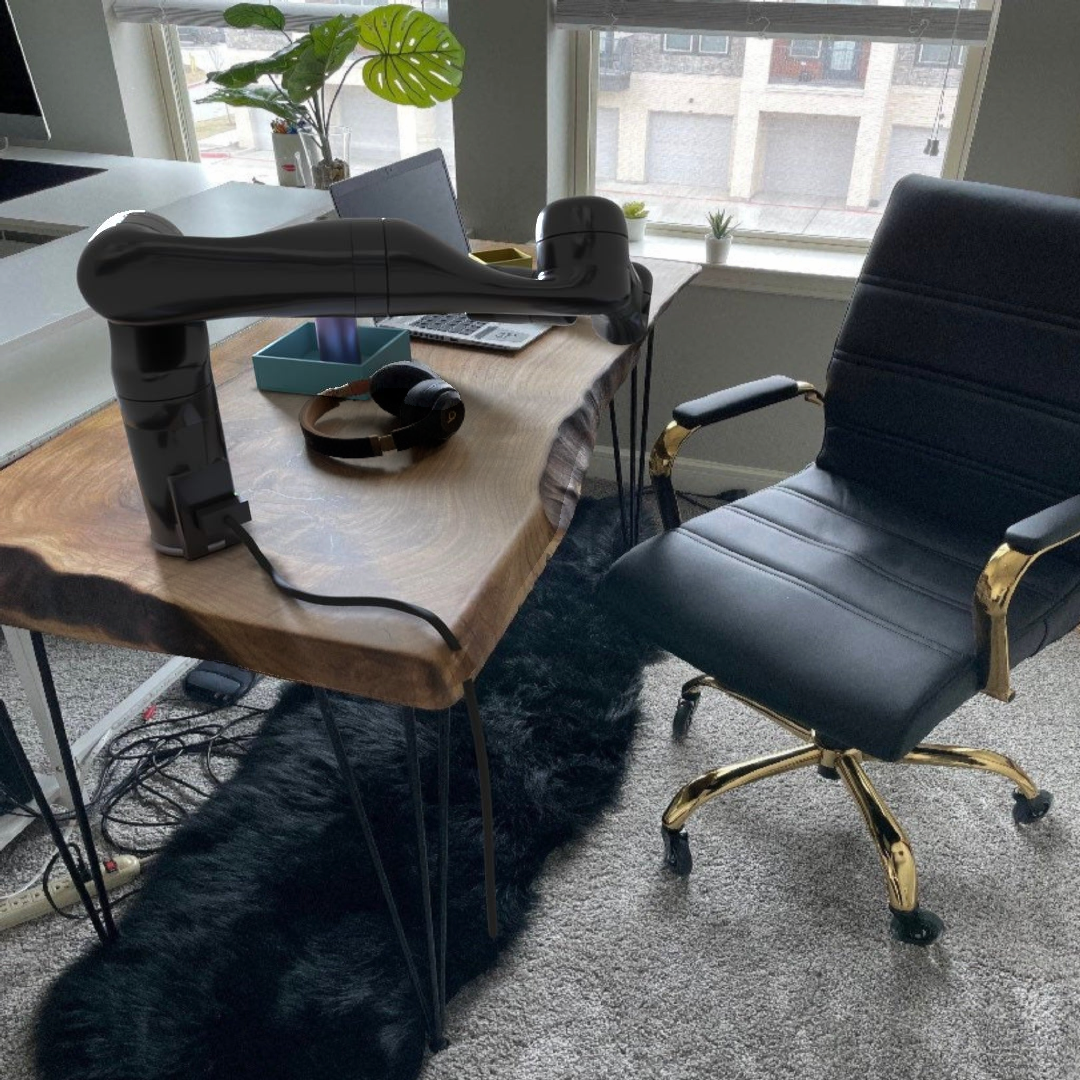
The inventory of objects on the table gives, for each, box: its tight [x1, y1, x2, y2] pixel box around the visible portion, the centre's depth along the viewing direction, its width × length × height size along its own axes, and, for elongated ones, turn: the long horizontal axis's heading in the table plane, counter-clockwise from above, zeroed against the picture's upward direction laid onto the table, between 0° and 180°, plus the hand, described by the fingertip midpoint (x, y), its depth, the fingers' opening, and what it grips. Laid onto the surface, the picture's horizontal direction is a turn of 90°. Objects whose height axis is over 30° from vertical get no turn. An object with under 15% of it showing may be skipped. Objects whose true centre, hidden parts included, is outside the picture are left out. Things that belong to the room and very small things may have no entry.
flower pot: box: [468, 246, 534, 269], centre depth 172 cm, size 9×9×9 cm
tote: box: [251, 320, 413, 401], centre depth 146 cm, size 17×16×5 cm
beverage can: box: [314, 317, 362, 365], centre depth 144 cm, size 6×6×15 cm
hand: (393, 286), depth 137 cm, fingers open, 8 cm apart
